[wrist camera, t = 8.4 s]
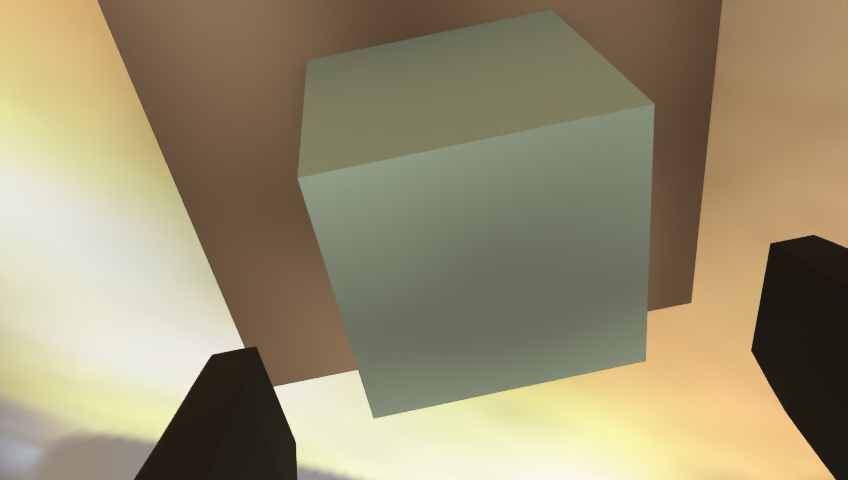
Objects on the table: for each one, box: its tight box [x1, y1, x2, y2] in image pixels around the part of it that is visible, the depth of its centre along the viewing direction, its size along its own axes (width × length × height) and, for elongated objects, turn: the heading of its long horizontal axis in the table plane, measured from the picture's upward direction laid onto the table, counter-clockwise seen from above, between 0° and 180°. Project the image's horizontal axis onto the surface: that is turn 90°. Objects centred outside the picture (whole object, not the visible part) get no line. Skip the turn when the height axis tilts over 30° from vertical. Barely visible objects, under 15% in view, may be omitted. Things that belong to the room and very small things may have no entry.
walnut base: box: [98, 0, 722, 387], centre depth 16 cm, size 12×12×3 cm
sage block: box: [298, 10, 655, 418], centre depth 12 cm, size 5×5×5 cm
